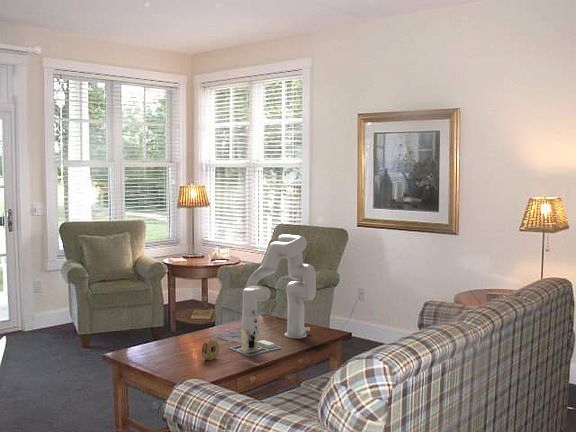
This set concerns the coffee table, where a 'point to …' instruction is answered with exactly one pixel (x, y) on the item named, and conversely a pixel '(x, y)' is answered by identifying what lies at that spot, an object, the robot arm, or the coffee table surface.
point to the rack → (253, 350)
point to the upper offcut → (265, 344)
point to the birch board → (247, 341)
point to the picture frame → (233, 336)
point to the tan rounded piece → (206, 348)
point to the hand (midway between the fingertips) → (249, 346)
